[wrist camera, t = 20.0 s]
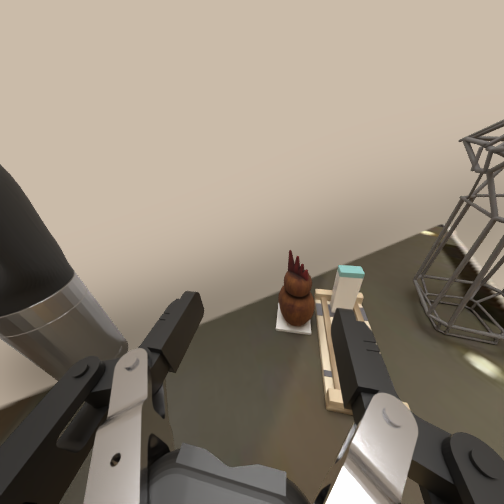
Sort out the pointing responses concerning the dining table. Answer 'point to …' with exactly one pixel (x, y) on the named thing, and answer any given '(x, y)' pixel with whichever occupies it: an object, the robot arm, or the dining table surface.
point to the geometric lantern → (491, 173)
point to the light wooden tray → (327, 351)
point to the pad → (286, 327)
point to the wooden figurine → (296, 294)
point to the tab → (346, 287)
